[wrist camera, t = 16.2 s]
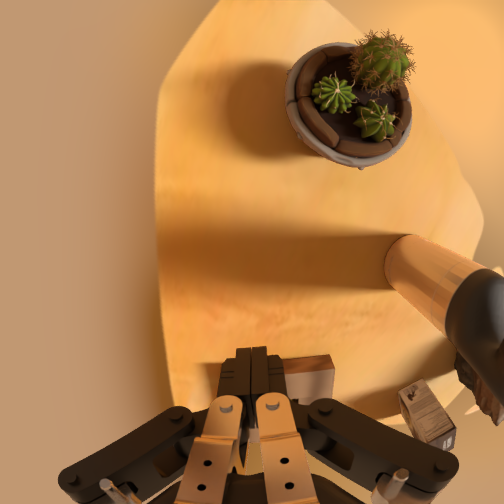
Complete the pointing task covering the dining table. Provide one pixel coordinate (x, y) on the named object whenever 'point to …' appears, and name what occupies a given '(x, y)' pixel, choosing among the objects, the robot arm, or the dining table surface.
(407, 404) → the coffee box
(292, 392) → the socket board
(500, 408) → the owl
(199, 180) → the dining table surface
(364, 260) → the dining table surface
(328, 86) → the flowerpot
